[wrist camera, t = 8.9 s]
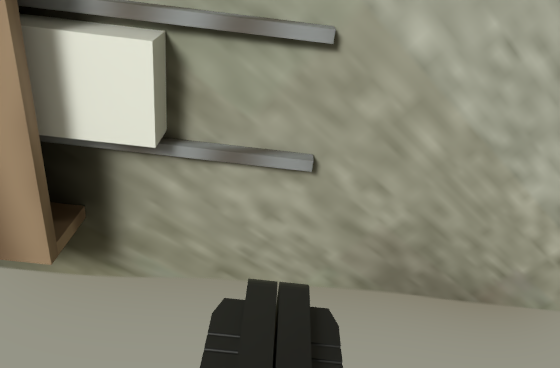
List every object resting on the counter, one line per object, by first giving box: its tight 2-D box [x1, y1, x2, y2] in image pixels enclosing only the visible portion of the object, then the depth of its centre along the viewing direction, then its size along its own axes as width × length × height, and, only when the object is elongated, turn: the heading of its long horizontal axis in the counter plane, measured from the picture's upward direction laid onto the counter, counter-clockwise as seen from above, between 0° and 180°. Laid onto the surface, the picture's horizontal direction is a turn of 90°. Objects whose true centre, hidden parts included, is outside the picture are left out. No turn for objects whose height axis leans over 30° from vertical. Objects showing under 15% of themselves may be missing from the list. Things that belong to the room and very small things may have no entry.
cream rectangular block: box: [19, 13, 167, 148], centre depth 27 cm, size 12×6×3 cm, turn 84°
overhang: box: [0, 0, 336, 265], centre depth 26 cm, size 23×22×6 cm
